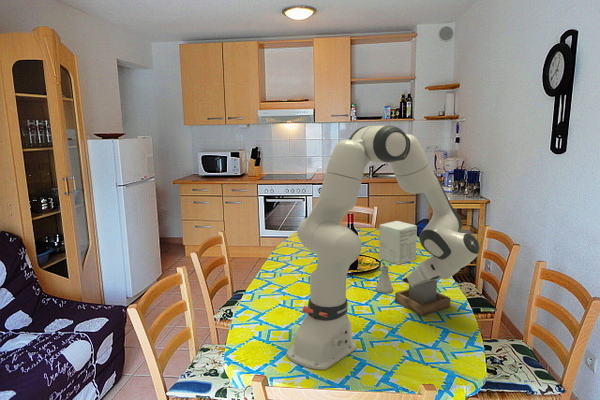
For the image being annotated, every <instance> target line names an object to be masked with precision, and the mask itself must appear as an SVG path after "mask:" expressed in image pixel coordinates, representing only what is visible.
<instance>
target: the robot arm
mask: <svg viewBox="0 0 600 400" xmlns="http://www.w3.org/2000/svg"><path fill="white" fill-rule="evenodd" d="M370 162H373V163H387V164H388V163H389V164H390V166H391V168H392V171H393V175H394V176H395V179H396V182H397V183H398V186H399V187H400V189H402V191H404V192H406V193H409V194H413V195H416V194H417V195H418V194H424V195H425V197H426V199H427V201H428V203H429V205H430V207H431V209H432V215H431V219H430V221H428V223H427V225H426V226H424V228H423V229H422V231H421V232H420V233H419V238H418V240H419V244H420V245H421V247H422V248H423V249H424V250H425V251H426V252H427V253H429V254H430V255H431V257H429V258H427V259H424V260H423V261H421V262H419V264H418V266H417V267H415V269H413V270H411V272H410V273H409V274H408V275H407V277H406V278H407V279H408V281H409V283H410V285H411V287H415V286H417V285H419V284H423V283H426V282H430V281H434V280H436V281H438V280H441V279H442V280H448V279H449V278H451V277H452V276H454V275H455V274H457V273H458V272H459V271H461V269H462V268H465V267H466V266H468V265H469V264H470V263H471V262H472V261H474V260H475V259H476V257H478V255H479V253H480V244H479V241H478V239H477V238H476V237H475V236H474V235H473V234H472V233H468V232H460V231H461V230H462V227H463V220H462V217H461V216H460V214H459V213H458V212H457V211H456V210H455V208H454V207H453V206H452V203H451V202H450V200H449V198H448V196H447V193H446V192H445V191H446V190H445V189H444V186H443V185H442V182H441V181H440V180H439V178H438V176H437V175H436V174H435V173H434V172H433V170H432V168H431V165H430V163H429V159H428V157H427V155H426V153H425V151H424V149H423V147H422V144H421V143H420V141H419V140H418V139H417V137H416V136H415V135H413V134H410V133H406V132H405V131H403V129H401V128H399V127H397V126H395V125H380V124H373V125H369V126H366V125H365V126H362V127H359V128H357V130H354V131H353V132H352V134H351V135H350V137H349V138H348V139H343V140H340V141H338V142H337V143H336V145H335V146H334V148H333V150H332V152H331V155H330V158H329V160H328V163H327V166H326V171H325V174H324V178H323V182H322V184H321V189H320V193H319V195H318V198H317V200H316V203H315V204H314V207H313V208H312V210H311V212H310V213H309V214H308V216H307V217H306V218H304V219H303V220H302V221H301V222H300V224H298V225H299V226H298V227H297V233H296V234H297V238H298V241H300V243H301V244H302V245H303V246H304V247H305V249H307V250H309V251H310V252H312V253H314V254H315V255H316V256H317V265H316V268H315V270H313V271H312V272H311V273H310V277H309V296H310V297H309V300H308V303H307V306H306V305H304V306H303V307H302V313H304V314H306V315H305V317H304V318H303V320H302V322H301V324H300V325H299V327H298V329H297V332H296V333H295V335H294V342H293V343H292V344H291V346H290V347H289V348H288V349H287V351H286V357H287V358H288V359H289V360H290V361H292V362H293V363H295V364H297V365H300V366H301V367H305V368H307V369H308V368H309V369H312V370H324V371H325V370H327V369H328V368H330V367H332V366H334V364H336V363H338V362H340V361H341V360H342V359H344V358H345V357H347V356H348V355H350V354H352V353H353V352H354V351H356V349H357V345H356V344H355V342H354V341H353V332H352V322H351V320H350V318H349V316H348V313H347V312H348V308H349V307H348V306H349V303H348V302H349V301H348V298H347V276H348V272H349V269H350V266H351V265H352V264H353V263H354V262H355V261H357V259H358V258H359V256H360V254H361V251H362V241H361V238H360V237H359V235H358V234H356V233H355V231H353V230H352V229H350V228H349V227H347V226H344V225H343V224H341V223H342V220H343V219H344V217H345V216H346V214H347V213H348V212H349V211H352V210H353V209H354V208H355V206H356V205H357V200H358V198H359V197H358V196H359V193H360V189H361V185H362V181H363V177H364V172H365V170H366V167H367V165H368V164H369V163H370Z"/></svg>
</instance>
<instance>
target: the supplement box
mask: <svg viewBox="0 0 600 400" xmlns="http://www.w3.org/2000/svg"><path fill="white" fill-rule="evenodd" d="M378 228H379V229H378V230H379V237H378V238H379V239H378V241H379V244H378V246H379V248H378V251H379V252H378V258H379V259H381V260H384V261H387V262H389V263H393V264H395V265H402V264H406V263H408V262H412V261H414V260H415V261H416V259H417V237H418V235H417V234H418V233H417V232H418V225H415V224H412V223H408V222H403V221H400V220H394V221H390V222H386V223H385V222H384V223H382V224H379V227H378Z"/></svg>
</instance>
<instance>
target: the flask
mask: <svg viewBox="0 0 600 400" xmlns="http://www.w3.org/2000/svg"><path fill="white" fill-rule="evenodd" d="M380 268H381V271H380V277H379V279H378V282H377V283H376V286H375V290H376V292H377V293H383V294H391V293H393V291H394V287H393V285H392V282H391V279H390V274H389V269H390V267H389V266H388V265H381V266H380Z"/></svg>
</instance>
